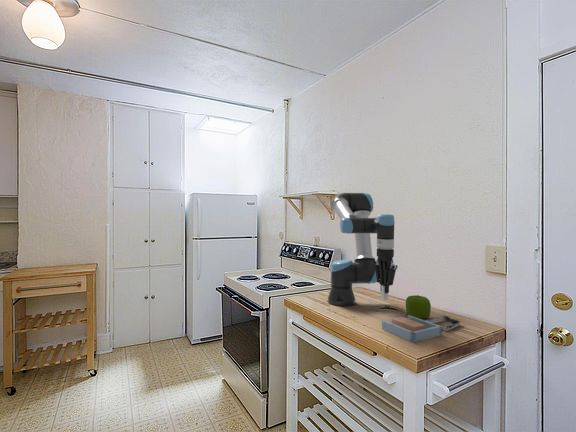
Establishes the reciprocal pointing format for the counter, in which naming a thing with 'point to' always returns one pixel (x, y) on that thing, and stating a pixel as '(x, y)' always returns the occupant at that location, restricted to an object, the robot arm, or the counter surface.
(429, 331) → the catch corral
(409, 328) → the terracotta tile
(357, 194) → the robot arm
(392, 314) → the counter surface
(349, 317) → the counter surface
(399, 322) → the terracotta tile
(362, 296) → the counter surface
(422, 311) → the apple
